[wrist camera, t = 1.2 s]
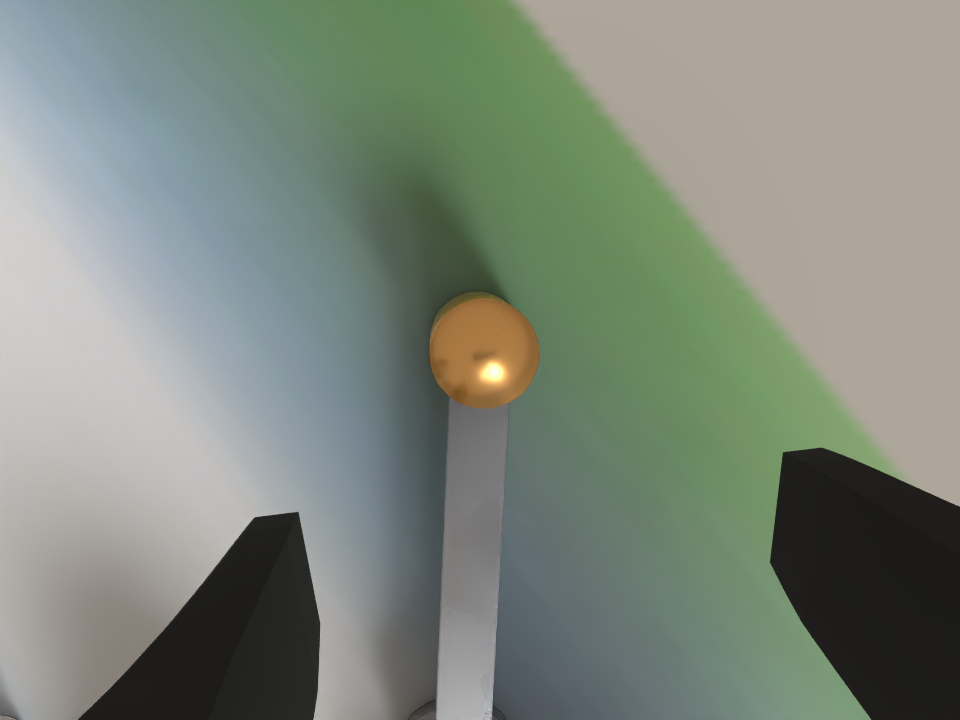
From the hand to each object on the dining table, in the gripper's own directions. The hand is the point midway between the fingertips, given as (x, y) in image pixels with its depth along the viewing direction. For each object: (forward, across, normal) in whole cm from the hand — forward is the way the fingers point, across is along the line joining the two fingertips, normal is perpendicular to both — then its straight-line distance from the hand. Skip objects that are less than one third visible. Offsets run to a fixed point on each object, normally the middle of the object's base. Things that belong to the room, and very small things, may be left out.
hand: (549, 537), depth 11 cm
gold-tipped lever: (+10, +1, +8) cm, 13 cm away
